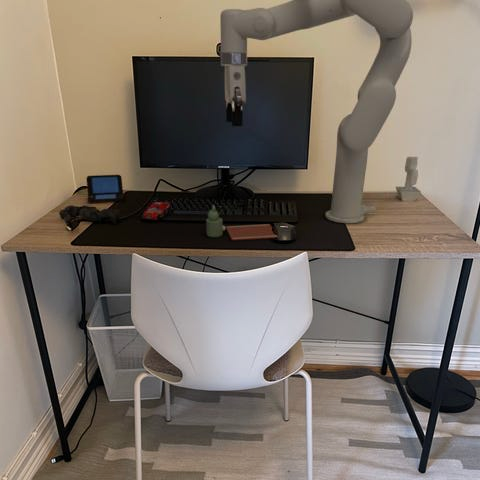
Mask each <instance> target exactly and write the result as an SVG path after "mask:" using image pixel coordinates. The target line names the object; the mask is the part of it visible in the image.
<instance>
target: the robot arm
mask: <svg viewBox="0 0 480 480" xmlns="http://www.w3.org/2000/svg"><path fill="white" fill-rule="evenodd" d="M353 16H357V17H359V18H360V19H362V20H363V21H364V22H366V23H367V24H369V25H370V26H372V27H373V28H374V29H375V31H376V33H377V34H378V36H379V47H378V51H377V54H376V55H375V58H374V61H373V62H372V64H371V67H370V69H369V70H368V72H367V74H366V76H365V78H364V80H363V81H362V82H361V83H362V84H361V85H360V86H359V88H358V91H357V101H356V104H355V106H354V108H353V109H352V112H351V113H350V114H348V115H347V114H346V116H344V117H343V118H342V120H341V121H340V122H339V125H338V127H337V133H336V152H335V163H334V173H333V182H332V183H333V184H332V194H331V204H330V210H327V211H326V212H325V213H324V214H325V216H324V217H325V218H326V219H327V220H328V221H330V222H334V223H340V224H357V223H361V222H363V221H364V220H365V217H366V216H365V214H366V213H374V212H375V211H376V206H375V205H368V204H362V202H363V194H364V187H365V186H364V185H365V180H366V173H367V172H366V171H367V164H368V156H369V148H370V147H371V146H372V145H373V144H374V142H375V140H376V139H377V137H378V136H379V134H380V132H381V131H382V128H383V126H384V125H385V123H386V121H387V120H388V117H389V116H390V114H391V112H392V110H393V108H394V106H395V103H396V100H397V99H396V98H397V91H396V90H397V89H396V85H397V83H398V81H399V79H400V77H401V75H402V73H403V71H404V70H405V67H406V65H407V63H408V61H409V58H410V55H411V50H412V30H411V26H412V23H413V19H414V11H413V8H412V5H411V4H410V3H409V2H408V1H407V0H289V1H287V2H284V3H282V4H281V3H280V4H278V5H274V6H272V7H268V8H265V7H256V8H250V9H240V8H230V9H229V8H226V9H224V10H223V9H222V11H221V12H220V21H219V22H220V66H221V67H224V100H225V102H226V103H225V105H226V106H225V107H226V108H225V121H226V122H227V123H231V127H242V126H243V125H244V124H243V123H244V122H243V117H244V116H243V112H244V111H243V105H244V104H246V103H247V92H246V91H247V88H246V87H247V86H246V70H245V67H247V66H248V39H251V40H258V41H267V40H270V39H274V38H277V37H280V36H283V35H286V34H290V33H294V32H296V31H297V32H298V31H302V30H309V29H313V28H316V27H320V26H323V25H326V24H329V23H333V22H336V21H340V20H343V19H347V18H350V17H353Z"/></svg>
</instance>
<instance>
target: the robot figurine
mask: <svg viewBox="0 0 480 480" xmlns="http://www.w3.org/2000/svg"><path fill="white" fill-rule="evenodd" d="M58 215H59V217H60V218H61V219H64V222H65V224H66V225H68V226H69V227H72V225H71V222H72V219H73V218H74V219H75V218H77V217H80V218H81V219H83V220H86V221H90V222H100V221H102V220H103V219H109V220H110V221H111V223H112V224H113V225H117V222H120V221H121V220H122V216H121V215H122V214H121V211H120V210H119V209H111V208H104V209H101V210H100V209H99V208H97V207H96V206H90V205H84V204H83V205H81V206H75V205H67V206H65V207H64V209H60V211H59V212H58Z"/></svg>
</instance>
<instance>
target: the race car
mask: <svg viewBox="0 0 480 480" xmlns="http://www.w3.org/2000/svg"><path fill="white" fill-rule="evenodd" d="M169 205H170V206H171V203H170V202H165V201H155V202H152V204H151V205H149V207H148V206H147V207H146V210H145V211H144V212H143V213H142V217H143V219H144V220H146V221H147V220H148V221H160V220H161V218H163V217H164V216H166V215H169V214H170V213H171V211H168V212H166V213H165V214H163V213H164V212H165V210H166V209H167V208H168V207H169ZM162 214H163V215H162ZM161 215H162V216H161Z"/></svg>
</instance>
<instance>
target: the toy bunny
mask: <svg viewBox="0 0 480 480" xmlns="http://www.w3.org/2000/svg"><path fill="white" fill-rule="evenodd" d="M206 216H207V218H206V219H205V228H206V229H205V231H206V236H207V237H210V238H220V237H222V236H223V235H224V231H226V230H227V229H226V227H225V225H223V223H224V222H223V221H224V220H223V218H222V217H219V216H220V214H219V212H218V211H217V210H216V206H215V204H212V205H211V210H209V211H208V212H207V214H206Z"/></svg>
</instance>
